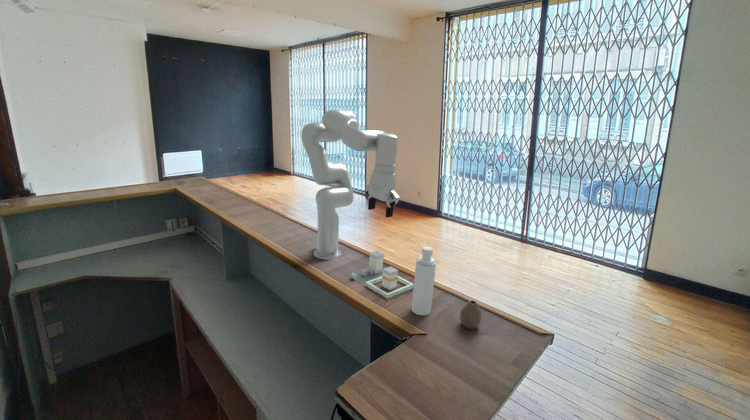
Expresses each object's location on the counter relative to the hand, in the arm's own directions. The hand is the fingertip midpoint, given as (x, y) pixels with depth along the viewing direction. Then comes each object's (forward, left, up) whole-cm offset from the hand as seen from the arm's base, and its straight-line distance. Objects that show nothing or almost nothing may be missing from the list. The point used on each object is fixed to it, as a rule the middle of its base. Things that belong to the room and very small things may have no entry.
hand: (380, 212), depth 141 cm
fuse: (-5, +5, -27) cm, 28 cm away
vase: (+41, +5, -29) cm, 51 cm away
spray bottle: (+25, -1, -29) cm, 38 cm away
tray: (+8, 0, -29) cm, 30 cm away
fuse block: (-5, 0, -29) cm, 29 cm away
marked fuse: (+8, 0, -28) cm, 29 cm away
